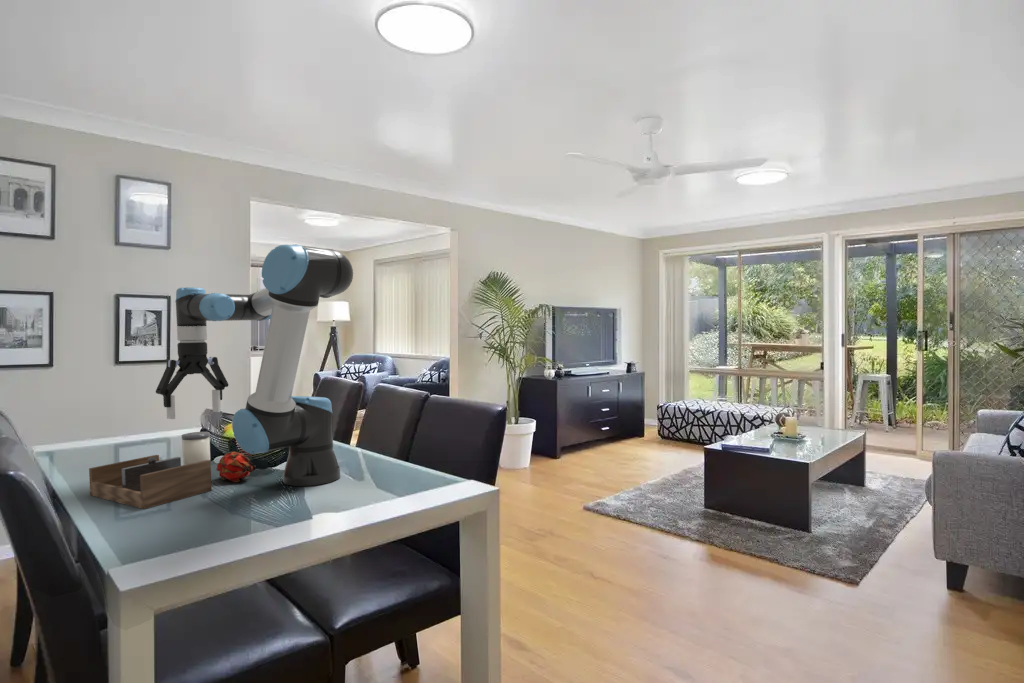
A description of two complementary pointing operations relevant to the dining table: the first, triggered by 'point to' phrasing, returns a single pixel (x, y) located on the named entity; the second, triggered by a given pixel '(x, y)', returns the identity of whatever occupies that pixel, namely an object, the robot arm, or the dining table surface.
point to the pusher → (146, 471)
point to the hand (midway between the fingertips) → (194, 415)
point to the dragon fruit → (234, 466)
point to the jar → (195, 447)
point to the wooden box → (150, 483)
